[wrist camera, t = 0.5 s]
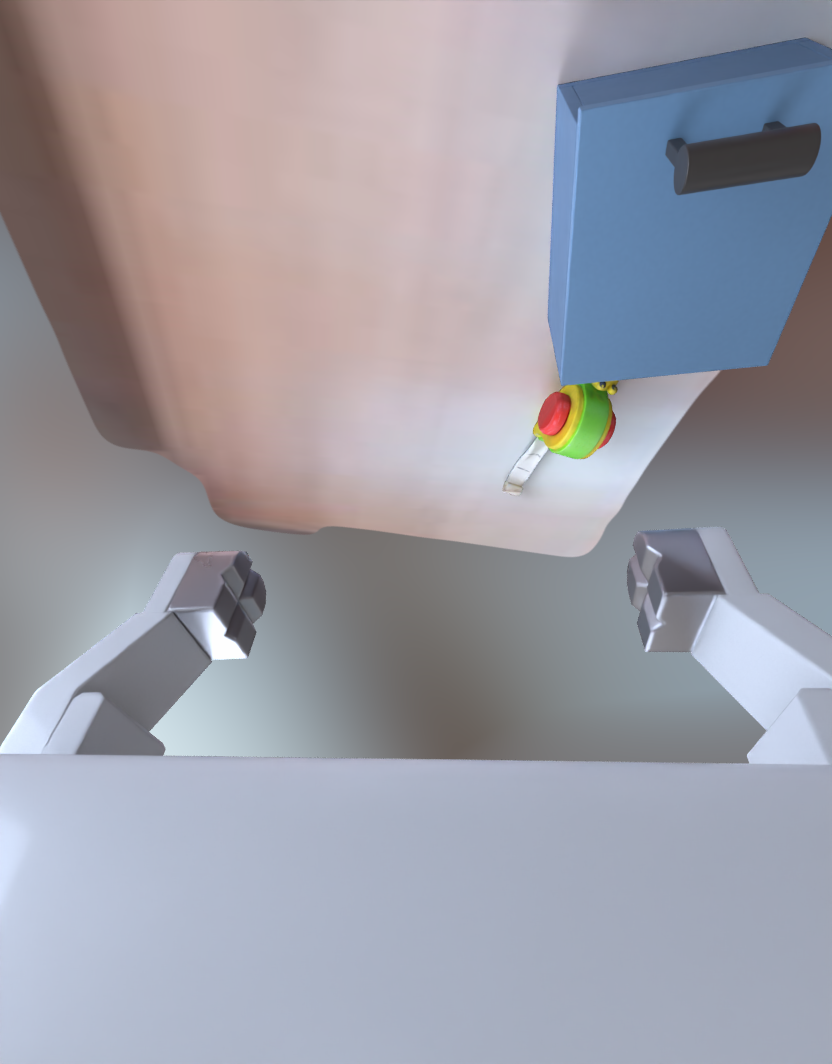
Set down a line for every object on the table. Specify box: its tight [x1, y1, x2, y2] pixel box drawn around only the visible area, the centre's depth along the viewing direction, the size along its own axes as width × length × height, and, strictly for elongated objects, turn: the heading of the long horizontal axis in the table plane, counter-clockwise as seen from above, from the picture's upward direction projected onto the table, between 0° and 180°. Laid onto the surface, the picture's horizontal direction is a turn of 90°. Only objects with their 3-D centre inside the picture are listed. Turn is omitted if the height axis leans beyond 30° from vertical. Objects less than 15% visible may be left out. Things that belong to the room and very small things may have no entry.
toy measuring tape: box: [503, 380, 619, 496], centre depth 51 cm, size 6×19×7 cm, turn 161°
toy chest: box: [548, 38, 832, 377], centre depth 34 cm, size 16×14×9 cm
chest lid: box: [560, 60, 832, 386], centre depth 29 cm, size 16×14×5 cm
